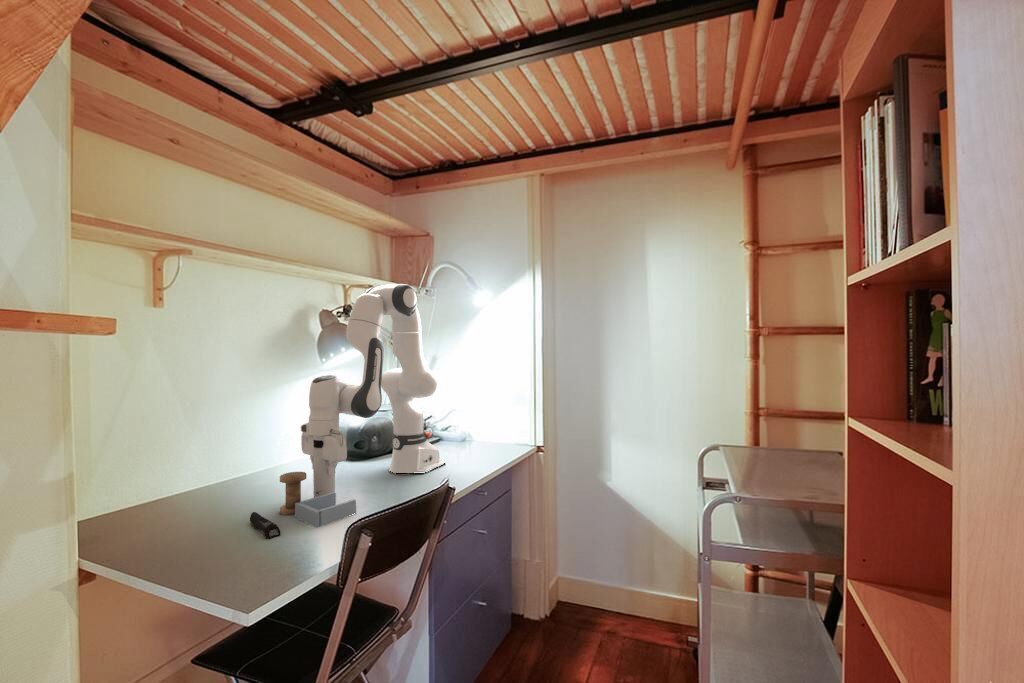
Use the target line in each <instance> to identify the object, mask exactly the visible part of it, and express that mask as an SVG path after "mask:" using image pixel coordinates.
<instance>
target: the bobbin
mask: <svg viewBox="0 0 1024 683" xmlns="http://www.w3.org/2000/svg"><path fill="white" fill-rule="evenodd" d="M306 479H307V473H306V472H305V471H290V472H286V473H283V474H281V475H280V476H279V482H280V483H281V484H282V483H283V484H285V504H284V505H281V507H279V515H281V516H295V503H298V502H301V501H302V500H301V498H302V493H301V492H302V490H301V489H302V485H301V484H302V483H301V482H303V481H305V480H306Z"/></svg>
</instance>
